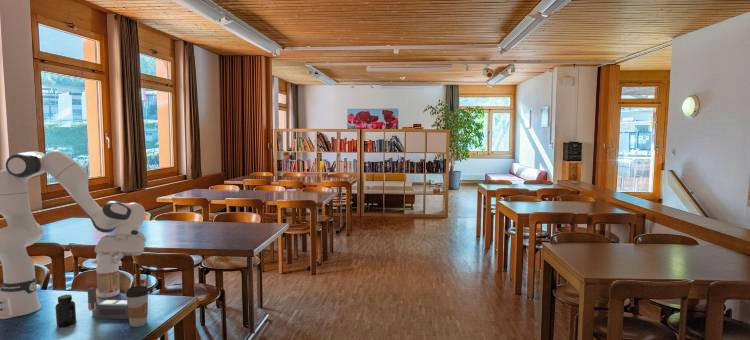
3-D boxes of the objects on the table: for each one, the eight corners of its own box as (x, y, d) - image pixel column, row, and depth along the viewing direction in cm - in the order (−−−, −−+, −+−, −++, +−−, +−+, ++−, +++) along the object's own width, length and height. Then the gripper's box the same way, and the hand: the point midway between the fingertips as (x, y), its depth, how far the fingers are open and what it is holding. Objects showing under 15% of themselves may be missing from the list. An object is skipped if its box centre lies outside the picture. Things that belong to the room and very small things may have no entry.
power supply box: (87, 318, 197) (87, 301, 197) (97, 313, 203) (96, 296, 203) (128, 319, 196) (127, 301, 196) (136, 313, 203) (136, 296, 202)
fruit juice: (98, 299, 220) (96, 241, 218) (96, 294, 228) (93, 238, 226) (121, 295, 226) (118, 239, 224) (118, 290, 233) (115, 235, 231)
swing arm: (90, 297, 200) (90, 278, 200) (98, 296, 202) (98, 277, 201) (88, 311, 185) (87, 290, 184) (97, 309, 186) (96, 289, 185)
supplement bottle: (72, 320, 196) (71, 292, 195) (78, 324, 192) (77, 295, 191) (54, 325, 191) (52, 296, 190) (59, 329, 186) (58, 300, 185)
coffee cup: (140, 329, 187) (138, 292, 185) (122, 327, 188) (120, 291, 187) (154, 320, 195) (152, 286, 194) (136, 319, 196) (135, 284, 195)
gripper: (99, 231, 206) (85, 259, 197) (144, 231, 205) (132, 259, 196) (106, 239, 211) (93, 266, 202) (150, 239, 210) (139, 266, 201)
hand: (113, 262), depth 199 cm, fingers closed
